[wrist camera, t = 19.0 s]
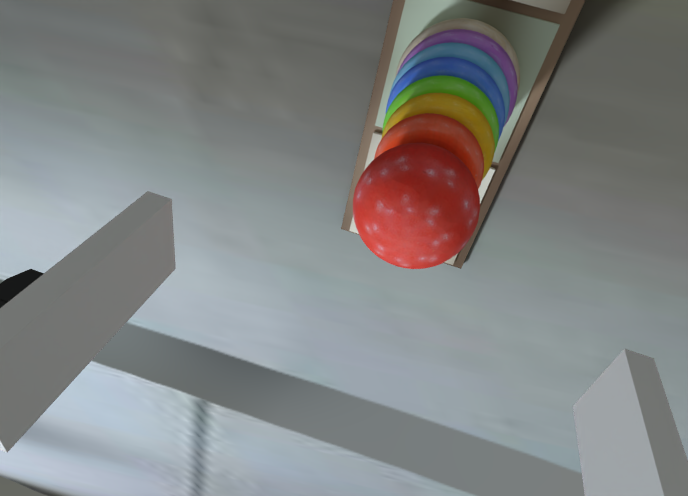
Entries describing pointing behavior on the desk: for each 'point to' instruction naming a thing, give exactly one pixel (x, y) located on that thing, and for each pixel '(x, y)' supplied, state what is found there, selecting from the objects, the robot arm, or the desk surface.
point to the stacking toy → (437, 143)
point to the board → (534, 62)
